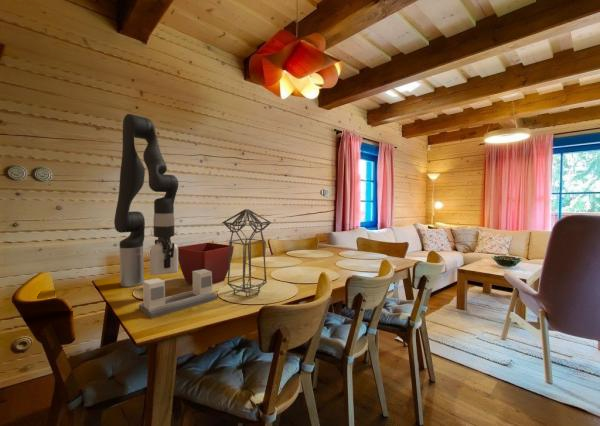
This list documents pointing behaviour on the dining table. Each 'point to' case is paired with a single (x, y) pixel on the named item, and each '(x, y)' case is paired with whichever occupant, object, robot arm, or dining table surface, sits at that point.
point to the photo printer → (162, 261)
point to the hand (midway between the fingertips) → (164, 266)
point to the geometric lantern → (241, 215)
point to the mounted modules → (156, 288)
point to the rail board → (178, 303)
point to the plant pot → (204, 260)
